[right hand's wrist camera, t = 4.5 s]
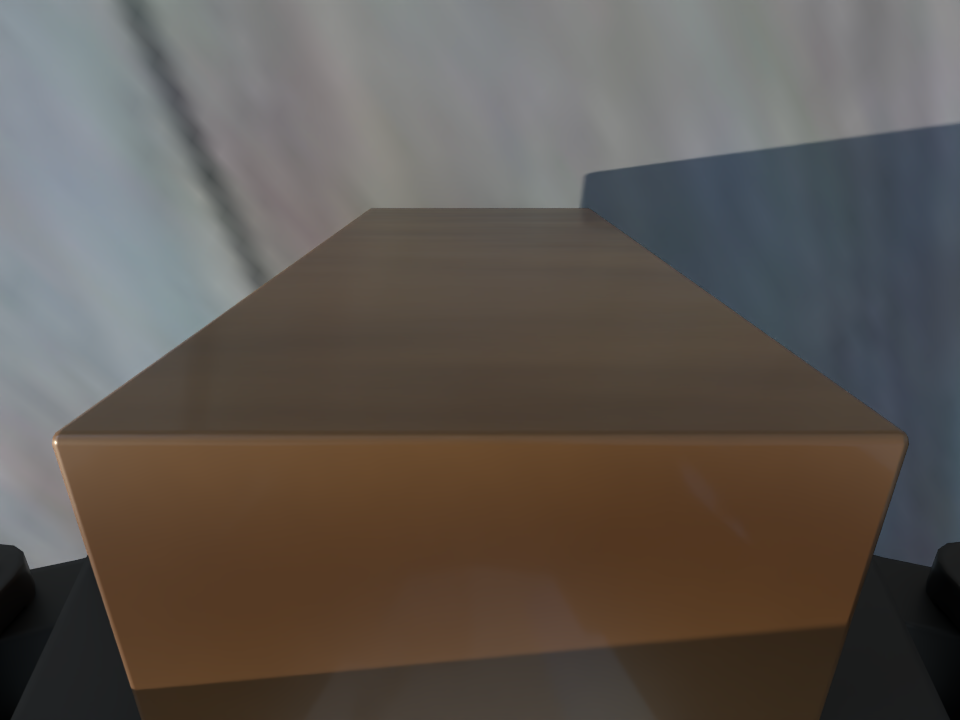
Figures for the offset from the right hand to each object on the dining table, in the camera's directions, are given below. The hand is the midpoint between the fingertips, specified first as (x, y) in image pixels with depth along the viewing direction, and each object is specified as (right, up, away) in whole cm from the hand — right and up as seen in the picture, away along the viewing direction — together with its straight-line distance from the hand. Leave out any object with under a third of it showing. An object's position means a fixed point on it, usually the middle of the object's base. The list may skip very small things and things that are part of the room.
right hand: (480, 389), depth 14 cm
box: (0, -7, +6) cm, 9 cm away
